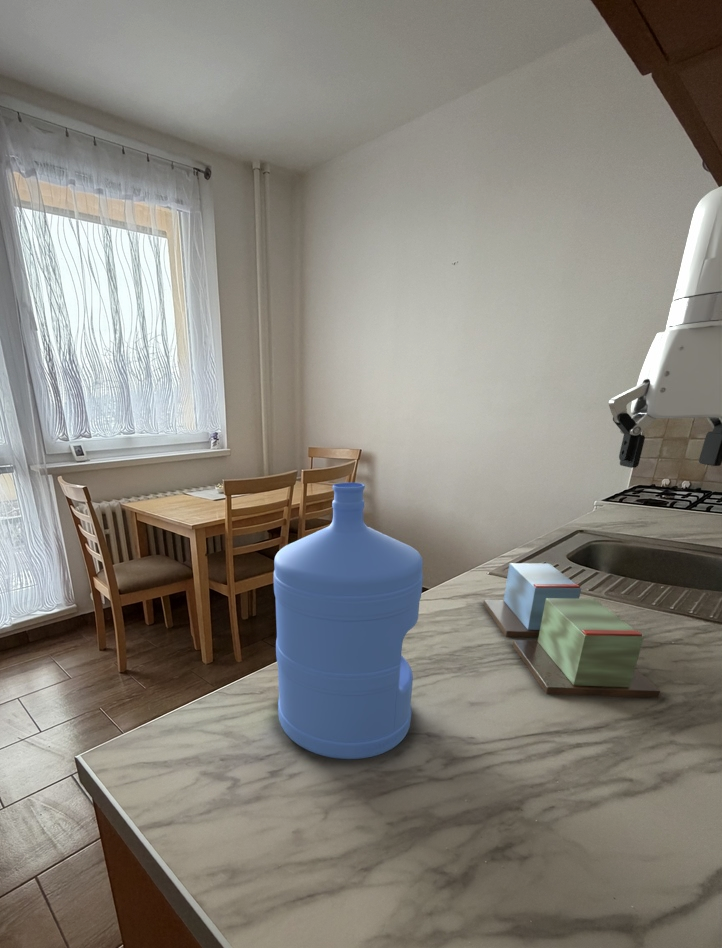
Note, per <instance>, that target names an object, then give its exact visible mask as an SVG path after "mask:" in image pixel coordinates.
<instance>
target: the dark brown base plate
mask: <svg viewBox="0 0 722 948" xmlns="http://www.w3.org/2000/svg"><path fill="white" fill-rule="evenodd" d="M482 605H483V607H484V608H485V609H486V611H487V613H488V614H489V615H490V617H491V618H492V619H493V621H494V622H495V624H496V625H497V627H498V629H500V631H501V632H502V634H503V635H504V636H505V637H506V638H538V637H539V632H540V630H528V629H527V628H526V627H525V626H524V625H523V623H522V622H521V621H520V620H519V618H518V617H517V616H516V615H515V614H514V612H513V611H512V610H511V609H510V608H509V606H508V605H507V604H506V603H505V601H504V599H483V603H482Z"/></svg>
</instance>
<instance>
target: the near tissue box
mask: <svg viewBox="0 0 722 948" xmlns="http://www.w3.org/2000/svg"><path fill="white" fill-rule="evenodd" d="M537 641H538V643H539V644H540V645H541V646H542V648H543V649H544V650H545V651H546V652H547V654H548V655H549V656H550V657H551V658H552V660H553V661H554V662H555V663H556V665H557V666H558V667H559V668H560V669H561V671H562V672H563V673H564V674H565V675H566V677H567V678H568V679H569V680H570V681H571V683H572V684H573V685H575V686H605V687H630V684H631V681H632V677H633V674H634V670H635V669H636V666H637V662H638V660H639V655H640V652H641V649H642V645H643V642H644V636H643V634H642V633H641V632H640V631H638V630H636V629H634V627H632V626H631V625H630V624H628V623H626V622H625V621H624V620H623V619H622V618H620V617H619V616H617V615H616V614H615V613H614V612H612V610H610V609H609V608H607V606H605V605H603V604H602V603H601V602H599V600H597V599H595V598H579V599H569V598H546V601H545V606H544V611H543V616H542V622H541V627H540V632H539V637H537Z"/></svg>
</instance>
